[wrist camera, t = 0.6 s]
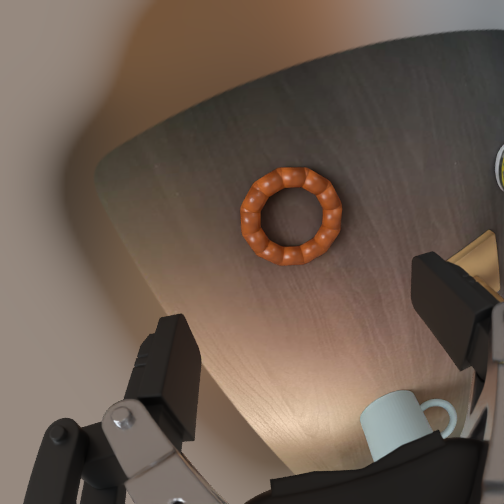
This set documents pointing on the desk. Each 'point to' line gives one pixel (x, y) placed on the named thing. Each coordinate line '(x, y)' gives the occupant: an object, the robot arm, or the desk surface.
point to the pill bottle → (500, 168)
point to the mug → (399, 421)
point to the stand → (481, 262)
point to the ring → (270, 186)
